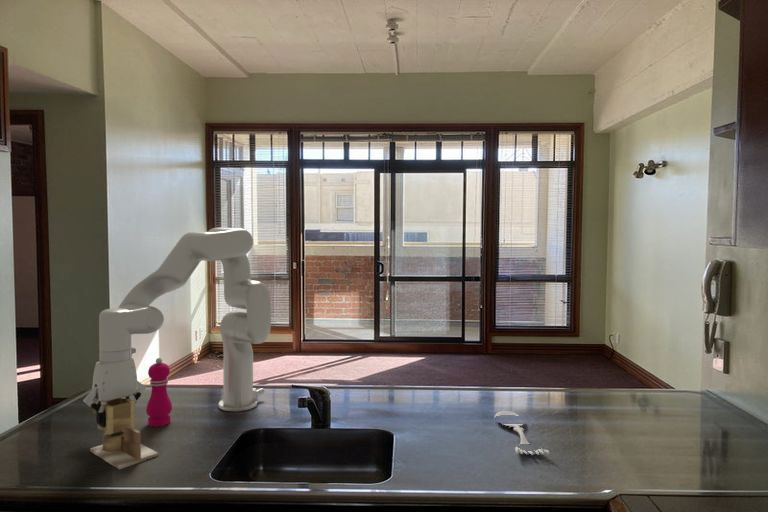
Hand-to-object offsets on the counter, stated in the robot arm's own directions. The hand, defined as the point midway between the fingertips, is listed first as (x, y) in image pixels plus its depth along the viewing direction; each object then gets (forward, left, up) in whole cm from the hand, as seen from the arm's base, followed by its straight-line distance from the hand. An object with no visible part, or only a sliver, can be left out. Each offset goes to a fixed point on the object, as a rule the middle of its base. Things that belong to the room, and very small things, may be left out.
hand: (116, 421), depth 140 cm
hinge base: (0, +4, -8) cm, 9 cm away
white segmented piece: (-78, +79, -8) cm, 112 cm away
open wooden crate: (0, -5, -2) cm, 5 cm away
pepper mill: (-17, -9, -8) cm, 21 cm away
